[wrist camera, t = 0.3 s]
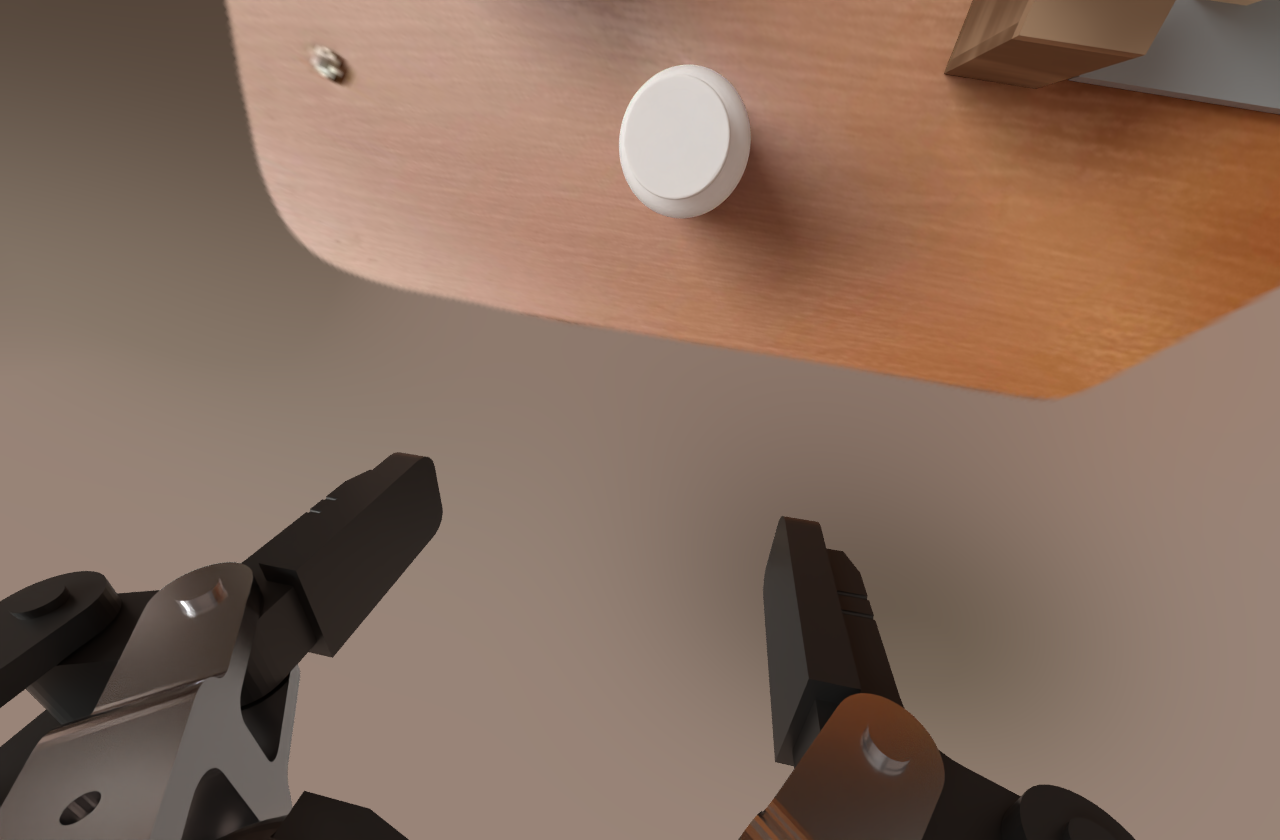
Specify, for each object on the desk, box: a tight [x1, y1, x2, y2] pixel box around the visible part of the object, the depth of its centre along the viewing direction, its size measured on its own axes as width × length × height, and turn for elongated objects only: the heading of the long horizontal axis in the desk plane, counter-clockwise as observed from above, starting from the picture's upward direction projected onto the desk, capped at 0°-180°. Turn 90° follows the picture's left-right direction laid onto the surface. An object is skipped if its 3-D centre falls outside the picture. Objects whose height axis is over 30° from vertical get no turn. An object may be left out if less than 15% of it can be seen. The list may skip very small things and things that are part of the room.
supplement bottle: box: [619, 65, 751, 218], centre depth 25 cm, size 7×7×13 cm
